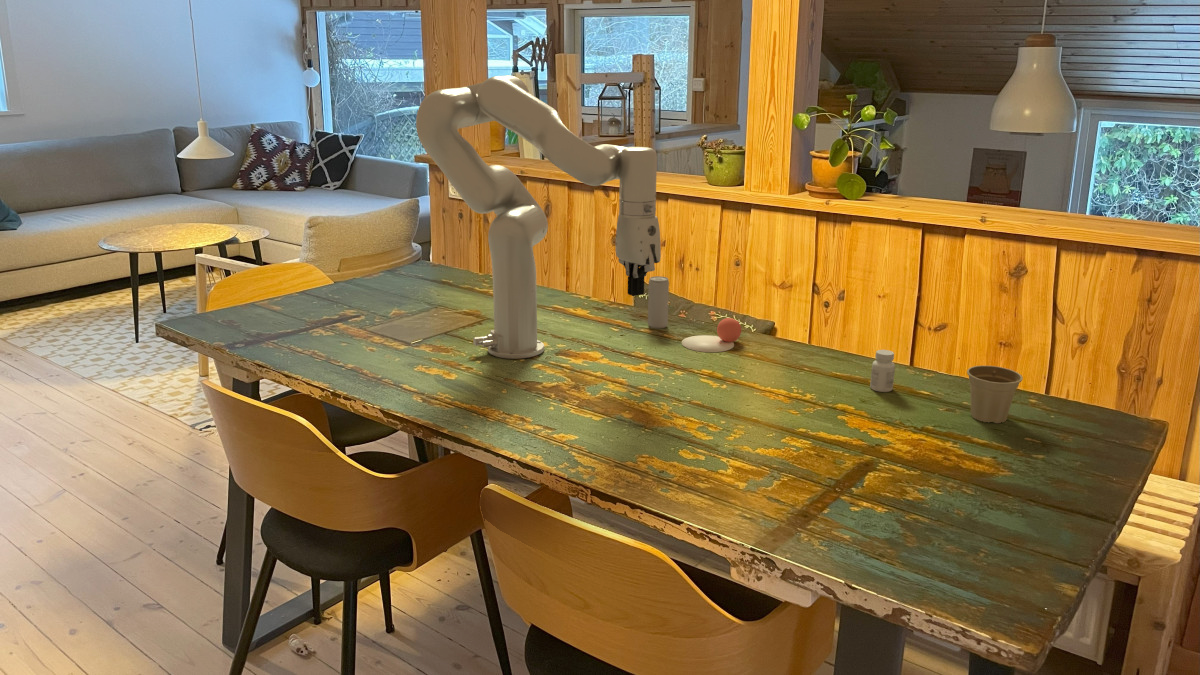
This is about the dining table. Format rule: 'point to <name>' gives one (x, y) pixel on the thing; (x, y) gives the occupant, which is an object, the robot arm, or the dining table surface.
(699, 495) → the dining table surface
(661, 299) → the beverage can
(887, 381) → the pill bottle
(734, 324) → the ball
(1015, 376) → the flower pot
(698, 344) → the disc
